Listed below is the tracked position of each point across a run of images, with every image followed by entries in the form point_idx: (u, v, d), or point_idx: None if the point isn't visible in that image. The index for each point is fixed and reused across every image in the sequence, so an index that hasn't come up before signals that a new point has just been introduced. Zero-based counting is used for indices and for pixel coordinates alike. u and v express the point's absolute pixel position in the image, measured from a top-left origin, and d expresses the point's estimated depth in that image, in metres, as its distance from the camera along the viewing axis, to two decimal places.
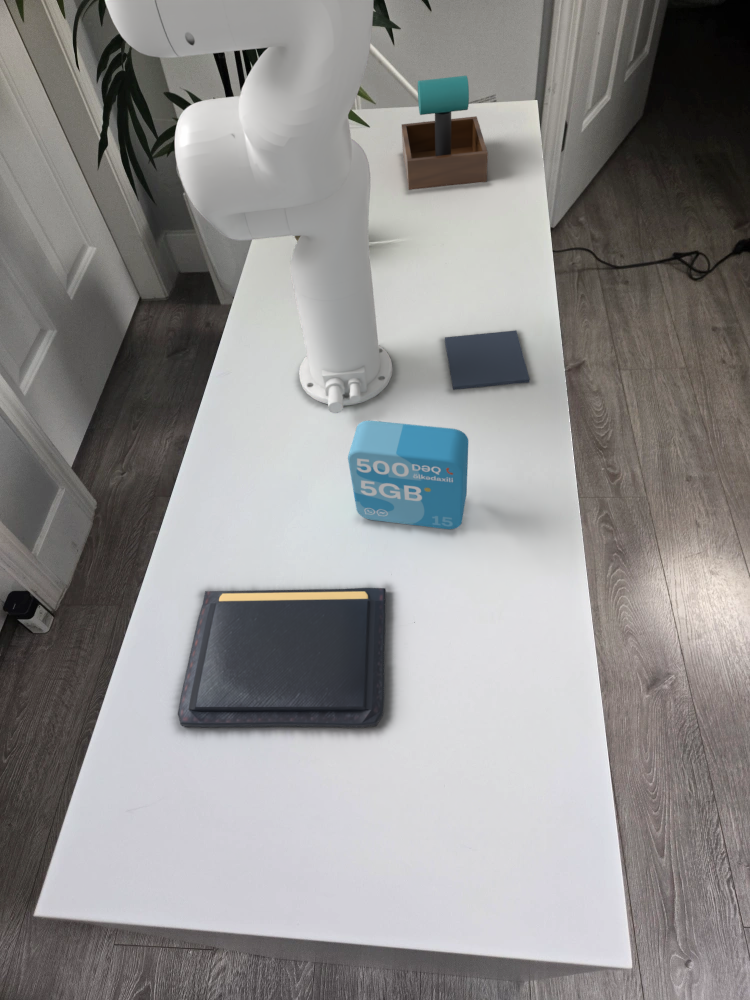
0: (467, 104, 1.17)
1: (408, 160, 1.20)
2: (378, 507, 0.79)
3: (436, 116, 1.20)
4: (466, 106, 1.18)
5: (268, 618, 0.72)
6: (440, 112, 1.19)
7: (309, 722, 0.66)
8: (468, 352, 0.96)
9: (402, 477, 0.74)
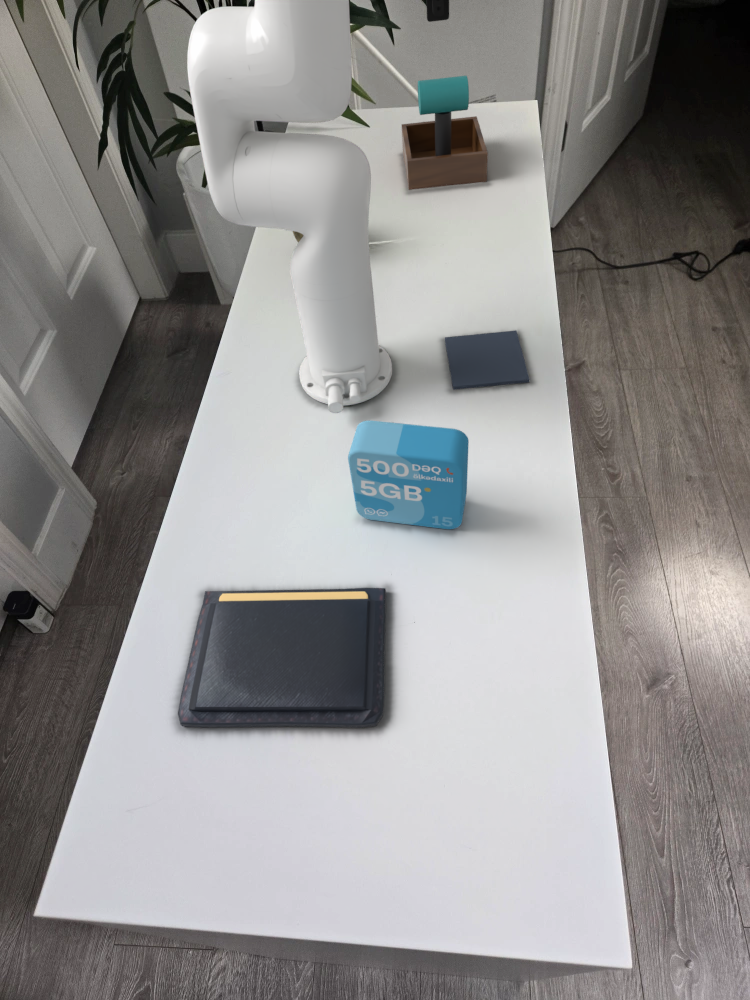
0: (467, 104, 1.17)
1: (408, 160, 1.20)
2: (378, 507, 0.79)
3: (436, 116, 1.20)
4: (466, 106, 1.18)
5: (268, 618, 0.72)
6: (440, 112, 1.19)
7: (309, 722, 0.66)
8: (468, 352, 0.96)
9: (402, 477, 0.74)
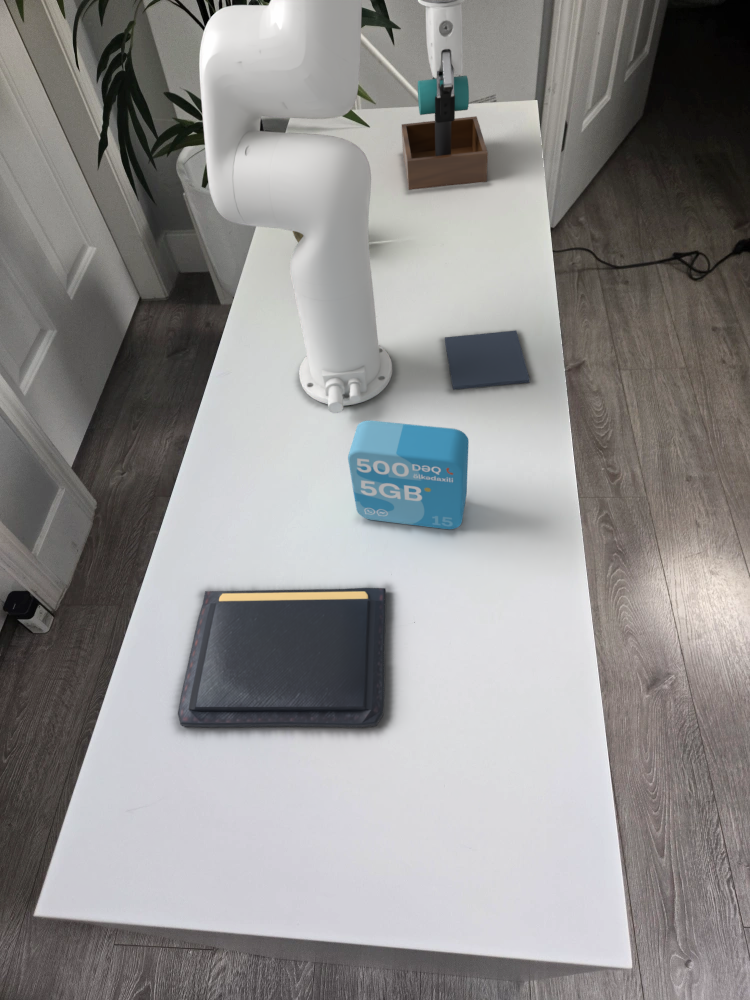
0: (467, 104, 1.17)
1: (408, 160, 1.20)
2: (378, 507, 0.79)
3: None
4: (466, 106, 1.18)
5: (268, 618, 0.72)
6: None
7: (309, 722, 0.66)
8: (468, 352, 0.96)
9: (402, 477, 0.74)
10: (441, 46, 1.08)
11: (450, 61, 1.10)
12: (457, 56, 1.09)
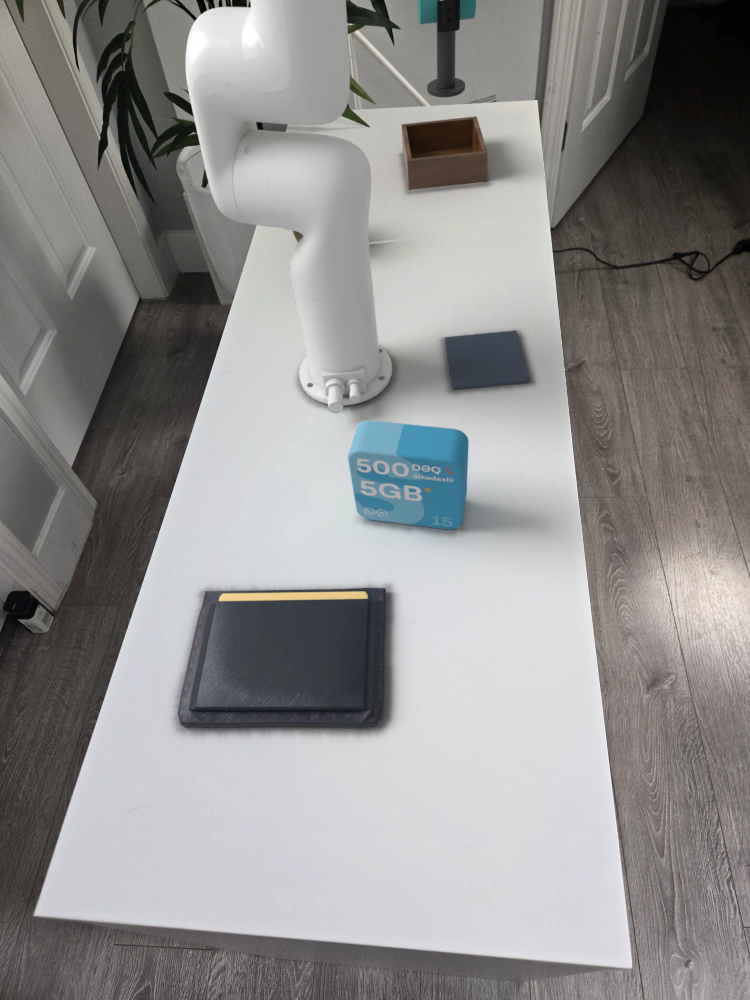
0: (474, 10, 1.02)
1: (408, 160, 1.20)
2: (378, 507, 0.79)
3: None
4: (473, 13, 1.03)
5: (268, 618, 0.72)
6: None
7: (309, 722, 0.66)
8: (468, 352, 0.96)
9: (402, 477, 0.74)
10: None
11: None
12: None
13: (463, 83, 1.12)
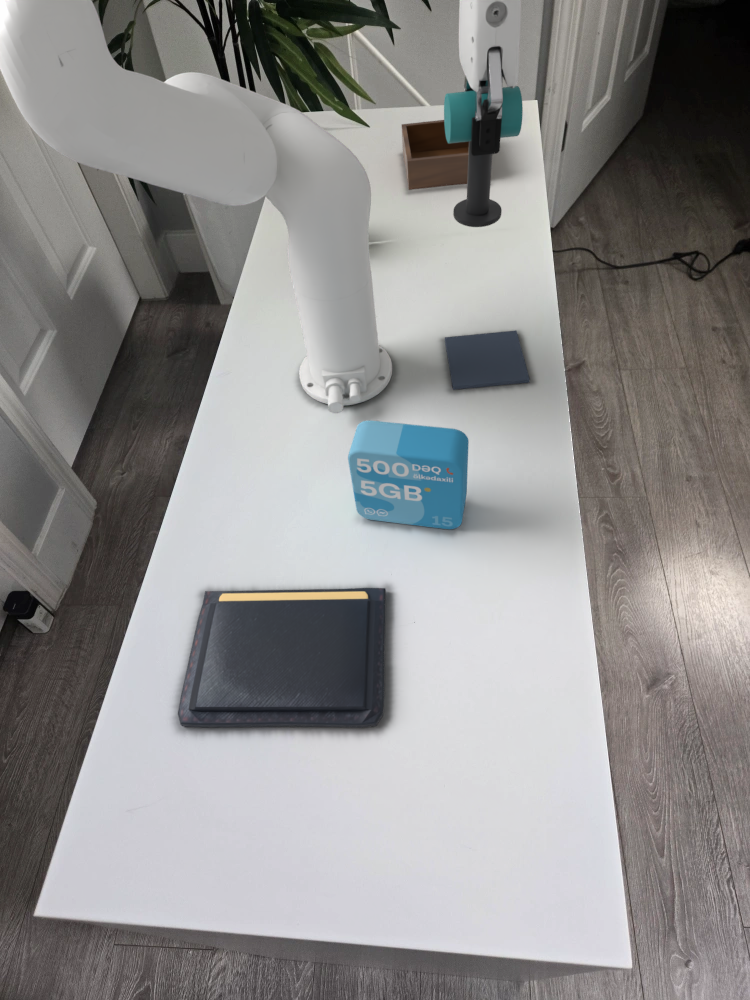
0: (519, 128, 0.79)
1: (408, 160, 1.20)
2: (378, 507, 0.79)
3: None
4: (517, 131, 0.80)
5: (268, 618, 0.72)
6: None
7: (309, 722, 0.66)
8: (468, 352, 0.96)
9: (402, 477, 0.74)
10: (488, 42, 0.70)
11: None
12: (511, 57, 0.71)
13: (499, 207, 0.89)
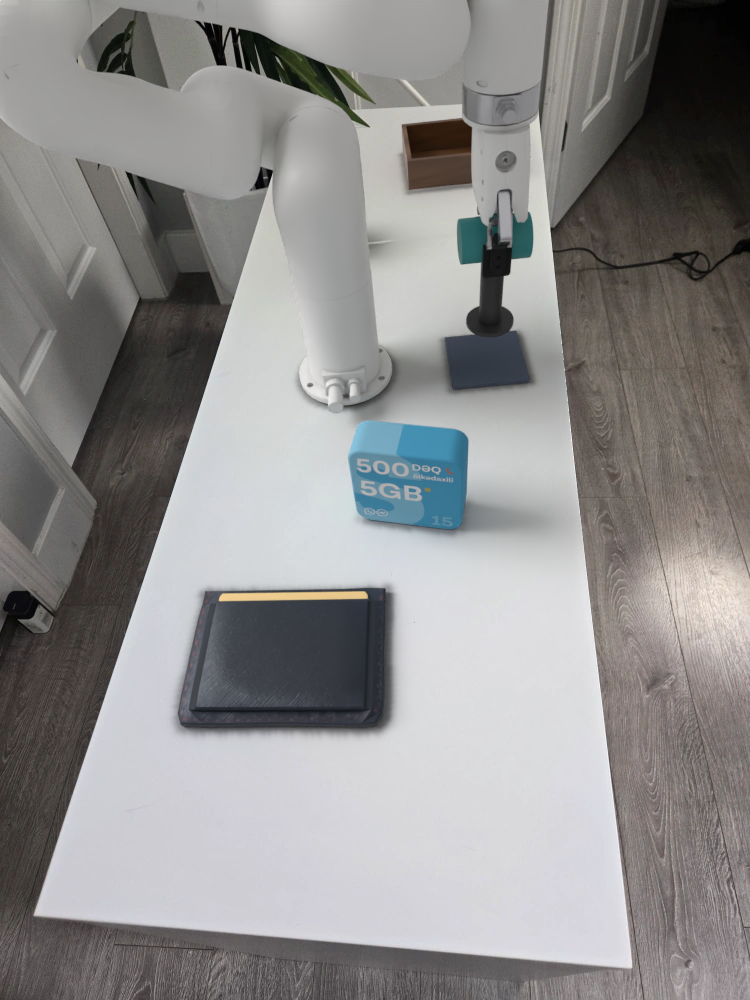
0: (530, 252, 0.81)
1: (408, 160, 1.20)
2: (378, 507, 0.79)
3: None
4: (528, 255, 0.81)
5: (268, 618, 0.72)
6: None
7: (309, 722, 0.66)
8: (468, 352, 0.96)
9: (402, 477, 0.74)
10: (497, 185, 0.71)
11: (509, 204, 0.73)
12: (521, 198, 0.72)
13: (511, 316, 0.90)
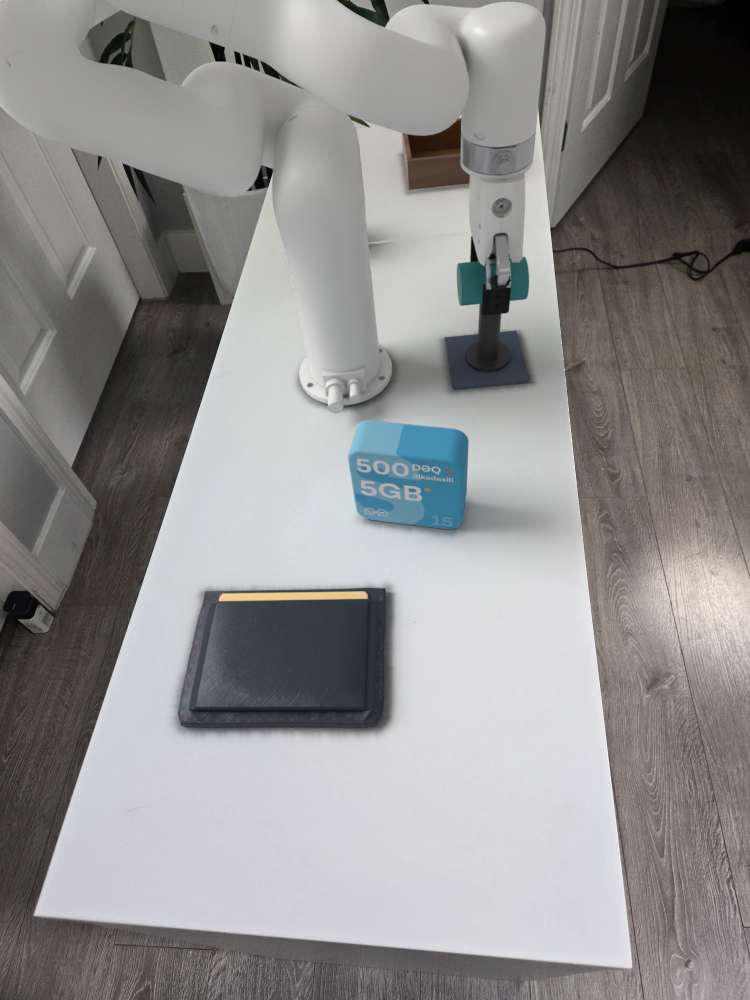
0: (526, 295, 0.85)
1: (408, 160, 1.20)
2: (378, 507, 0.79)
3: None
4: (524, 297, 0.86)
5: (268, 618, 0.72)
6: None
7: (309, 722, 0.66)
8: None
9: (402, 477, 0.74)
10: (494, 229, 0.75)
11: (505, 237, 0.77)
12: (516, 241, 0.76)
13: (508, 352, 0.95)
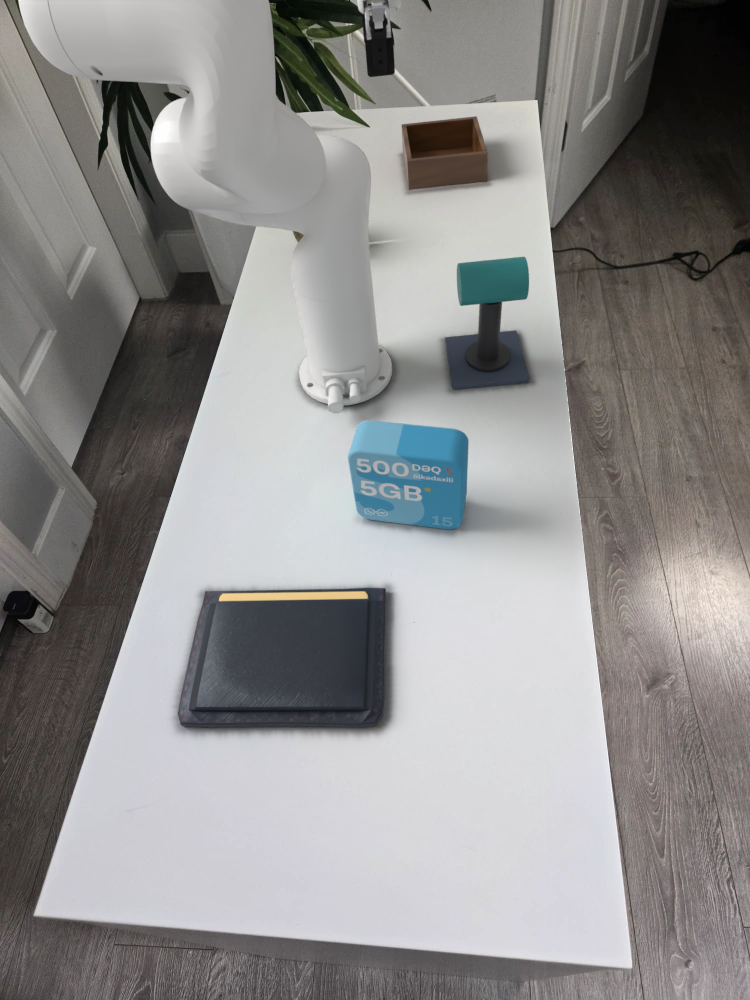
0: (526, 295, 0.85)
1: (408, 160, 1.20)
2: (378, 507, 0.79)
3: (482, 306, 0.88)
4: (524, 297, 0.86)
5: (268, 618, 0.72)
6: (488, 303, 0.87)
7: (309, 722, 0.66)
8: None
9: (402, 477, 0.74)
10: None
11: None
12: None
13: (508, 352, 0.95)
